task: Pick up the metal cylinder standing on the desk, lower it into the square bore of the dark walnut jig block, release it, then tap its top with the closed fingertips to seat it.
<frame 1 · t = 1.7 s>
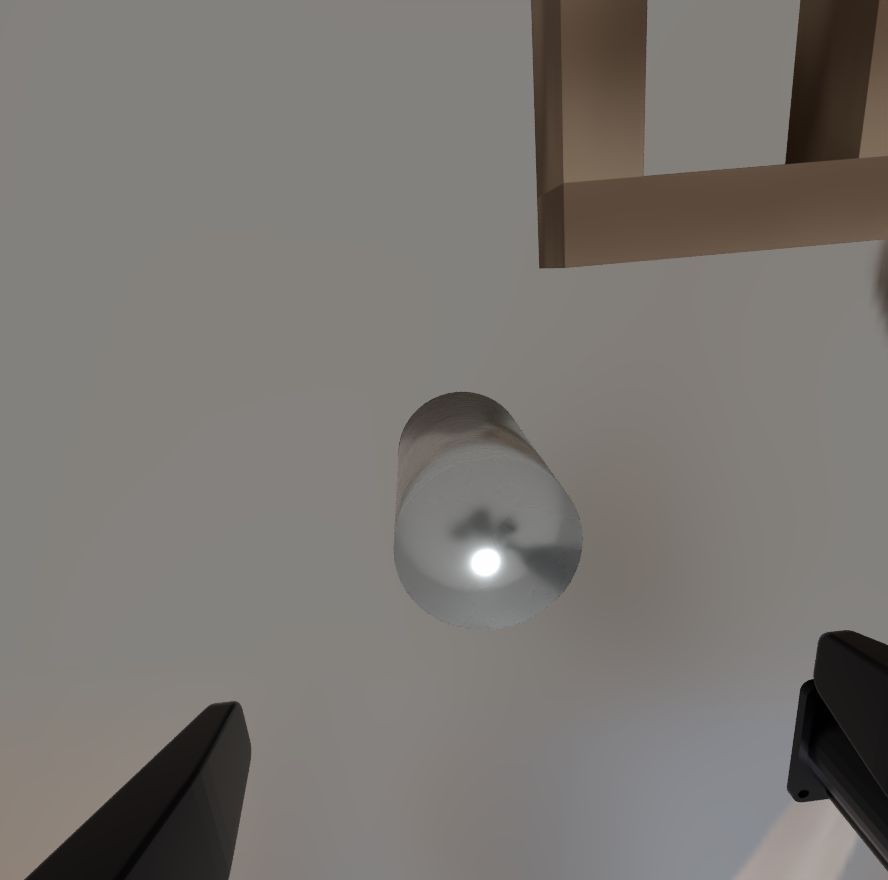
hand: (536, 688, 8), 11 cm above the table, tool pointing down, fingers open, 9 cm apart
jig: (699, 78, 16), on the table
metal cylinder: (460, 452, 19), on the table
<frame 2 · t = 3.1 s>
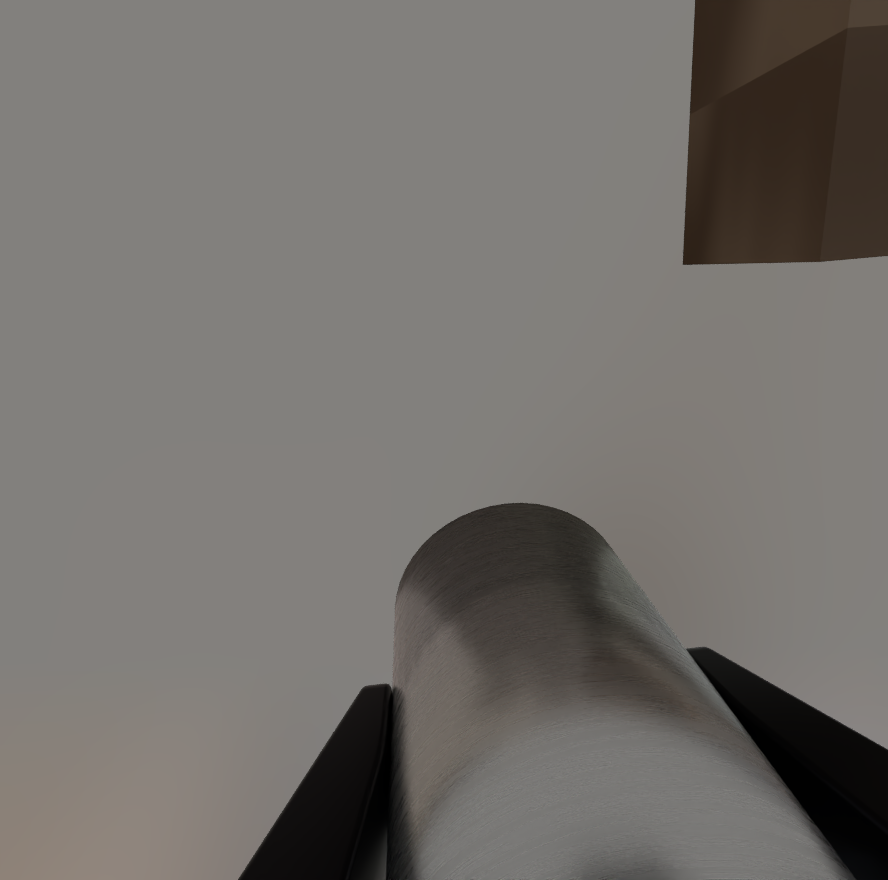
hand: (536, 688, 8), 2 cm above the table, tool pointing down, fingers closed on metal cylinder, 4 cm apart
metal cylinder: (511, 610, 10), on the table, touching gripper
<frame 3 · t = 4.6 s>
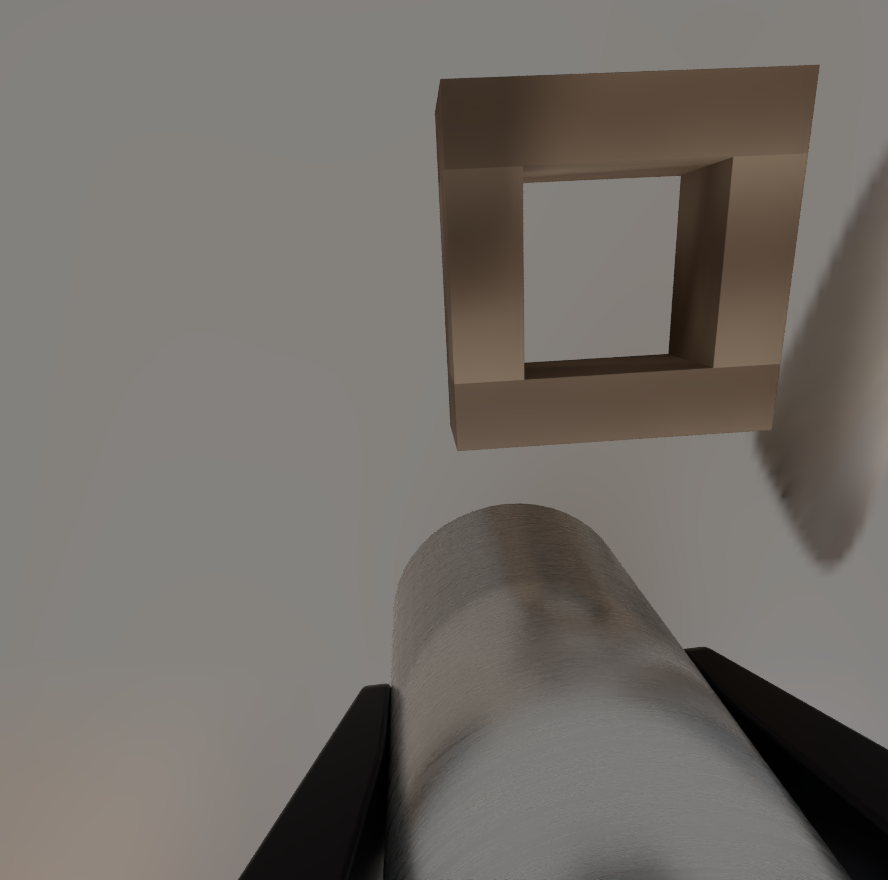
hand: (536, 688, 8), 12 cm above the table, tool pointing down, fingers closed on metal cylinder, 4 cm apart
jig: (590, 273, 18), on the table
metal cylinder: (509, 610, 10), point 10 cm above the table, touching gripper
when the fingers open (3 cm above the table, at t = 6.4 s): metal cylinder drops 1 cm, resting in jig.
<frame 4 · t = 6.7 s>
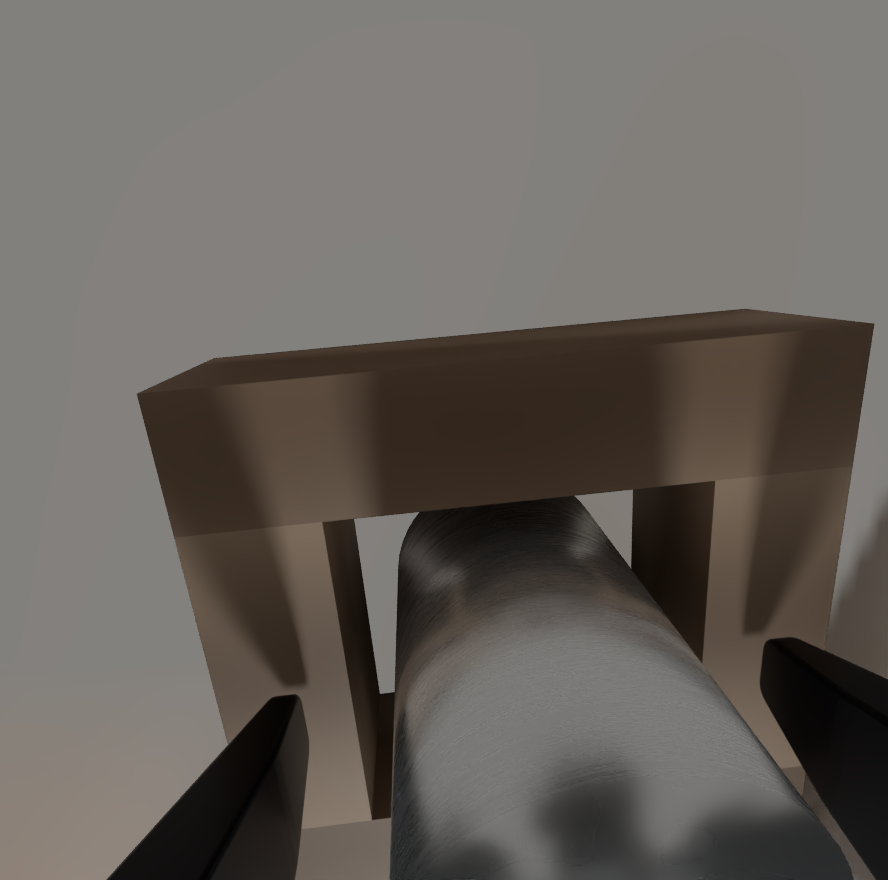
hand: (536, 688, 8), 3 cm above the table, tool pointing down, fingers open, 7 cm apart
jig: (498, 568, 12), on the table
metal cylinder: (501, 567, 12), resting in jig
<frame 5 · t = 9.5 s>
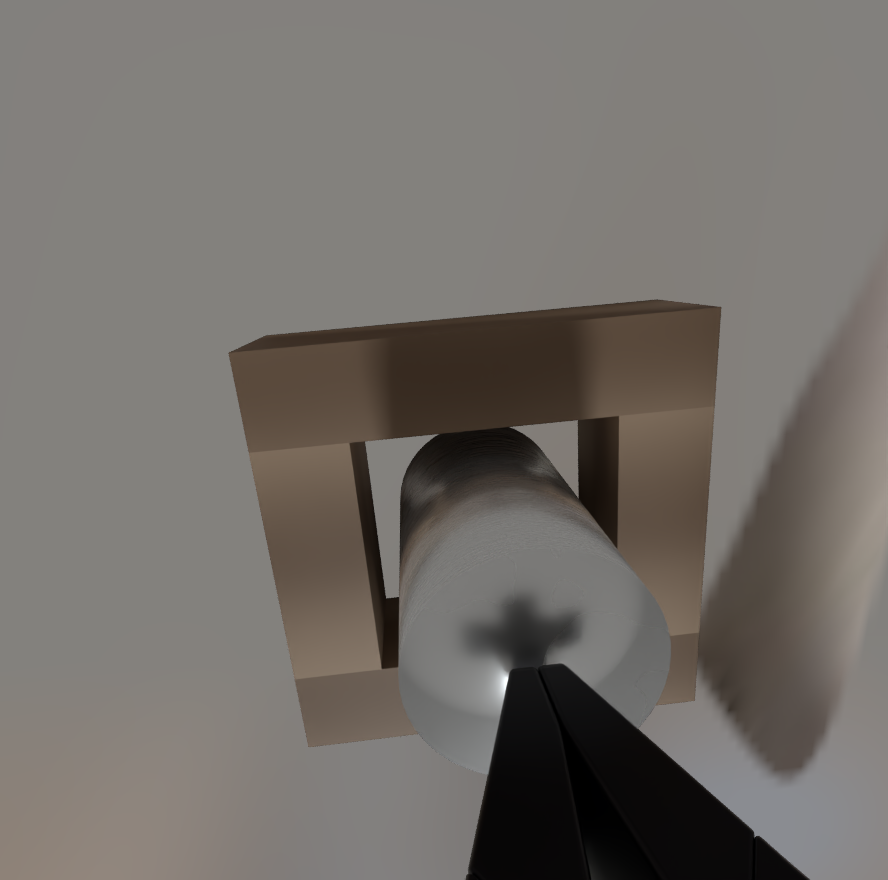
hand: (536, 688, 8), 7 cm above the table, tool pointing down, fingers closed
jig: (477, 498, 15), on the table
metal cylinder: (478, 497, 15), resting in jig
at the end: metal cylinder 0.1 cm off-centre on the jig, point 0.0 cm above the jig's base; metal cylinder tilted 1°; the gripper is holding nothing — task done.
